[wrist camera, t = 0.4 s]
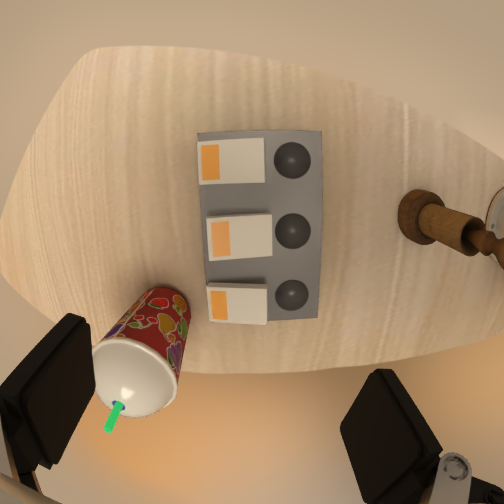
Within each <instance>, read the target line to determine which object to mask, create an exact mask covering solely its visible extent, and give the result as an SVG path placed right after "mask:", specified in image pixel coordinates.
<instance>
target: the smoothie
mask: <svg viewBox="0 0 504 504" xmlns="http://www.w3.org/2000/svg"><path fill="white" fill-rule="evenodd" d="M190 319H191V314H190V309H189V307H188V305H187V303H186V301H185V300H184V298H183V297H182V296H181V295H180V294H179V293H177V292H175V291H174V290H172V289H167V288H153V289H151V290H148V291H146V292H145V293H144V294H143V295H142V296H141V297H140V298H139V299H138V300H137V301H136V302H135V303H134V305H133V306H132V307H131V308H130V309H129V310H128V311H127V312H126V313H125V314H124V315H123V316H122V318H121V319H120V320H119V321H118V322H117V323H116V324H115V325H114V326H113V327H112V329H111V330H110V331H109V332H108V333H107V334H106V335H105V336H104V338H103V339H102V340H101V341H100V342H99V343H98V344H97V345H96V346H95V347H94V348H93V349H92V356H93V365H94V374H95V381H96V388H95V392H96V394H97V396H98V398H99V399H100V400H101V401H102V402H103V404H104V405H105V406H106V407H108V408H109V409H110V410H111V413H110V415H109V418H108V420H107V422H106V424H105V426H104V430H105V431H106V432H109V433H111V432H112V430H113V428H114V425H115V423H116V421H117V419H118V416H119V415H122V416H125V417H131V418H141V417H147V416H150V415H152V414H154V413H156V412H158V411H159V410H161V409H162V408H164V407H166V406H168V405H169V404H171V402H172V401H173V400H174V399H175V397H176V394H177V389H178V379H179V374H180V369H181V364H182V358H183V353H184V348H185V343H186V338H187V333H188V329H189V324H190Z"/></svg>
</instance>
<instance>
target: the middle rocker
mask: <svg viewBox="0 0 504 504" xmlns="http://www.w3.org/2000/svg"><path fill="white" fill-rule="evenodd" d="M206 224H207V239H208V253H209V261H217V260H229V259H241V258H253V257H266V256H272V214H270V213H250V214H234V215H219V216H206Z"/></svg>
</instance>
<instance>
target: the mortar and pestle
mask: <svg viewBox="0 0 504 504" xmlns="http://www.w3.org/2000/svg"><path fill="white" fill-rule="evenodd" d="M398 222H399V226H400V229H401V231H402V233H403V234H404V235H405V236H406V237H407V238H408V239H410V240H412V241H414V242H416V243H418V244H421V245H428V244H431V243H433V242H435V241H436V240H437V241H439V242H441V243H443V244H445V245H447V246H449V247H451V248H453V249H455V250H457V251H459V252H461V253H462V254H464V255H466V256H474V255H476V254H477V253H478V252H479V251H480V252H481V253H482V254H483V255H485V256H489V255H490V254H492V253H493V254H494V255H495V257H496V259H497V261H498V263H499V264H500V266H501V267H502V269H504V238H501V239H498V238H496V235H495V233H494V232H492V231H488V230H486V228H485V225H484V223H483V221H482V220H481V219H480V218H477V217H474V216H471V215H468V214H465V213H461V212H458V211H455V210H452V209H449V208H446V207H445V205H444V203H443V201H442V200H441V198H440V197H439V196H438V195H436V194H434V193H432V192H429V191H425V190H414V191H411V192H410V193H408V194H407V195H406V196H405V197H404V198H403V200H402V202H401V204H400V206H399V211H398Z"/></svg>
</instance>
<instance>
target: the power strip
mask: <svg viewBox="0 0 504 504" xmlns="http://www.w3.org/2000/svg"><path fill="white" fill-rule="evenodd" d="M197 136H198V142H201V141H213V140H227V139H245V138H264V139H265V165H266V182H265V183H231V184H207V185H199V186H200V205H201V221H202V236H203V249H204V262H205V273H206V285H208V284H209V282H213V283H243V284H268V321H272V320H291V319H307V318H317V316H318V302H319V287H320V268H321V245H322V197H323V175H322V131H303V130H251V131H226V132H209V133H197ZM250 213H270V214H272V256H266V257H253V258H241V259H229V260H217V261H209V253H208V239H207V224H206V216H219V215H234V214H250Z"/></svg>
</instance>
